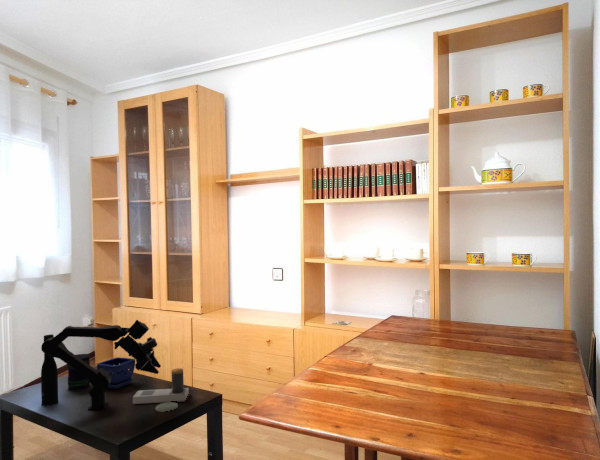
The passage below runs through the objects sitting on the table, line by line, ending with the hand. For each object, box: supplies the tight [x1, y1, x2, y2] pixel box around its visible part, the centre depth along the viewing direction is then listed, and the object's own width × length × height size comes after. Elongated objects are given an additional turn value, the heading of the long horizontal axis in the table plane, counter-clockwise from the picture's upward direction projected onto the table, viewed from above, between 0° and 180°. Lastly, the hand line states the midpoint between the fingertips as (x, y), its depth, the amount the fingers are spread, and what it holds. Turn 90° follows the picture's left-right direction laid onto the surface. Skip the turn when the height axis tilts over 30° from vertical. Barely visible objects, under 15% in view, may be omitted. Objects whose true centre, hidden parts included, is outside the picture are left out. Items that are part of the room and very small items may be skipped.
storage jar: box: [67, 353, 91, 392], centre depth 213 cm, size 10×10×15 cm
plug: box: [171, 368, 185, 394], centre depth 194 cm, size 6×6×12 cm
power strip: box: [132, 387, 190, 405], centre depth 193 cm, size 8×22×3 cm, turn 94°
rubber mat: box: [155, 402, 179, 413], centre depth 183 cm, size 9×9×1 cm
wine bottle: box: [40, 334, 59, 407], centre depth 192 cm, size 6×6×30 cm
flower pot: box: [96, 356, 136, 390], centre depth 214 cm, size 13×13×12 cm
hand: (159, 370), depth 192 cm, fingers open, 9 cm apart
